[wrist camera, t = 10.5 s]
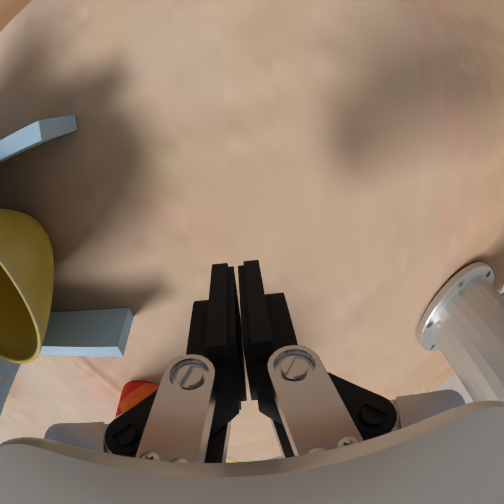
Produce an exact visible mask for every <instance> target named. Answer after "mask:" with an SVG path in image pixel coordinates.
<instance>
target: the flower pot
mask: <svg viewBox="0 0 504 504" xmlns="http://www.w3.org/2000/svg"><path fill="white" fill-rule="evenodd" d="M53 284H54V258H53V249H52V244H51V241H50V239H49V236H48V234H47V232H46V231H45V229H44V228H43V226H42V225H41V224H40V223H39V222H38V221H37V220H36V219H35V218H33V217H32V216H30V215H27V214H25V213H22V212H19V211H15V210H10V209H0V357H1V358H3V359H5V360H8V361H10V362H14V363H21V364H23V363H30V362H32V361H34V360H35V359H36V358H37V357H38V356H39V354H40V351H41V348H42V344H43V341H44V337H45V334H46V330H47V325H48V320H49V315H50V309H51V303H52V295H53Z"/></svg>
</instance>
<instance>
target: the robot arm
mask: <svg viewBox="0 0 504 504" xmlns="http://www.w3.org/2000/svg"><path fill="white" fill-rule="evenodd" d="M238 274H239V292H240V309H241V318H240V311H239V304H238V296H237V289H236V281H235V274H234V267H233V266H232V267H228V264H227V263H223V264H213V265H212V272H211V283H210V293H209V300H203V301H195V302H194V304H193V310H192V317H191V323H190V330H189V337H188V345H187V352H186V355H184V356H180V357H178V358H176V359H175V360H173V361H172V362H171V363H170V364H169V365H168V366H167V368H166V370H165V371H164V374H163V377H162V380H161V383H160V385H159V388H158V389H157V390H156V391H155V392H153V393H152V394H150V395H149V396H148V397H146V398H145V399H143V400H142V401H141V402H139V403H138V404H136V405H135V406H133V407H132V408H130V409H129V410H128V411H126V412H125V413H123V414H122V415H120V416H119V417H117V418H116V419H114V420H113V421H112V422H111V423H110V424H105V423H104V422H92V423H59V424H54V425H52V426H51V427H49V429H48V430H47V431H46V433H45V437H44V439H42V438H34V437H22V438H15V439H11V440H8V441H5V442H3V443H1V444H0V504H504V293H502V294H500V293H499V292H498V291H497V290H496V289H495V288H494V287H493V286H494V272H493V270H492V269H491V268H490V267H489V266H488V265H487V264H486V263H484V262H476V263H472V264H470V265H468V266H466V267H465V268H463V269H462V270H460V271H459V272H458V273H457V274H455V275H454V276H453V277H452V278H451V279H450V280H449V281H448V282H447V283H446V284H445V285H444V286H443V287H442V289H441V290H440V291H439V292H438V294H437V295H436V296H435V297H434V299H433V300H432V302H431V303H430V305H429V306H428V308H427V310H426V311H425V313H424V315H423V317H422V319H421V322H420V324H419V328H418V333H417V338H418V342H419V343H420V345H421V346H422V348H424V349H425V350H427V351H435V350H438V349H440V350H441V352H442V353H443V355H444V356H445V358H446V359H447V361H448V362H449V364H450V365H451V367H452V368H453V370H454V371H455V373H456V374H457V376H458V377H459V378H460V380H461V382H462V383H463V385H464V386H465V388H466V390H467V391H468V393H469V394H470V396H471V398H472V400H473V401H474V402H472V403H468V404H465V401H464V399H463V397H462V396H461V395H460V394H459V393H458V392H456V391H454V390H441V391H435V392H429V393H422V394H415V395H407V396H399V397H396V399H395V400H388V399H386V398H384V397H382V396H380V395H378V394H375V393H373V392H371V391H368V390H366V389H364V388H361V387H359V386H357V385H355V384H352V383H350V382H348V381H346V380H344V379H341V378H339V377H337V376H335V375H333V374H331V373H329V372H327V371H326V369H325V367H324V365H323V363H322V362H321V360H320V358H319V356H318V355H317V354H316V353H315V352H314V351H313V350H311V349H310V348H307V347H304V346H299V345H298V344H297V340H296V336H295V332H294V329H293V325H292V321H291V318H290V314H289V310H288V306H287V303H286V299H285V296H284V293H275V294H266V295H265V294H264V288H263V283H262V277H261V272H260V266H259V261H258V260H253V261H244V265H242V266H238ZM241 325H242V326H241ZM242 339H243V341H242ZM243 348H244V355H245V362H246V368H247V375H248V381H249V387H250V393H251V399H252V400H258V405H259V411H260V412H261V413H263V414H265V415H266V416H268V417H269V418H271V423H272V426H273V429H274V432H275V435H276V438H277V441H278V444H279V447H280V450H281V453H282V456H283V458H281V459H273V460H264V461H252V462H237V463H226V457H227V450H228V443H229V436H230V429H231V420H232V419H233V418H234V417H235V416H236V415H237V414H238V413H239V410H241V401H246V400H247V398H246V384H245V370H244V356H243Z"/></svg>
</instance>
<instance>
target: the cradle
mask: <svg viewBox="0 0 504 504" xmlns="http://www.w3.org/2000/svg"><path fill="white" fill-rule="evenodd" d="M76 130H78V129H77V123H76V115H68V116H61V117H55V118H49V119H44V120H39V121H36V122H34V123H32V124H30V125H28V126H26V127H24V128H22V129H20V130H18V131H17V132H15V133H13V134H11V135H9V136H7V137H6V138H4V139H2V140H0V163H2V162H4V161H6V160H8V159H10V158H12V157H14V156H16V155H18V154H20V153H22V152H24V151H26V150H28V149H31V148H33V147H35V146H38V145H40V144H42V143H45V142H47V141H50V140H52V139H55V138H57V137H60V136H62V135H65V134H68V133H71V132H73V131H76ZM132 321H133V315H132V312H131V310H130V308H129V307H125V308H113V309H99V310H84V311H67V312H50V315H49V320H48V325H47V330H46V334H45V337H44V341H43V344H42V348H41V351H40V354H45V355H62V356H97V357H113V356H123V355H124V351H125V347H126V343H127V339H128V335H129V332H130V328H131V324H132ZM20 364H21V363H14V362H10V361H8V360H5V359H3V358H1V357H0V415H1V412H2V409H3V406H4V403H5V401H6V398H7V395H8V393H9V390H10V387H11V385H12V383H13V380H14V378H15V375H16V373H17V371H18V368H19V366H20Z"/></svg>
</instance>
